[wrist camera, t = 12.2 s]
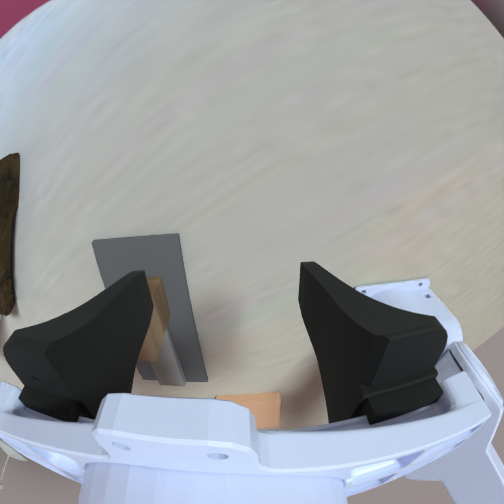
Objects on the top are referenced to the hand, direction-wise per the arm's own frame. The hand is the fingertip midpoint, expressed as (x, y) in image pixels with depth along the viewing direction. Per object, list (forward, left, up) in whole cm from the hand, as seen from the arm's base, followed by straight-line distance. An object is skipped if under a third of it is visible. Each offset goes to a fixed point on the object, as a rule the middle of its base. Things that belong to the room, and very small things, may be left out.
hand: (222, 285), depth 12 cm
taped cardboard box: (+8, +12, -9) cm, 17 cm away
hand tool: (+25, -1, -10) cm, 27 cm away
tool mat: (+8, +10, -9) cm, 16 cm away
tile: (0, +23, -9) cm, 25 cm away
